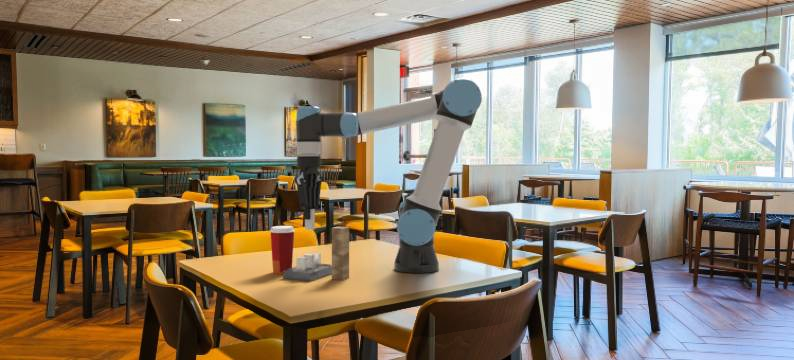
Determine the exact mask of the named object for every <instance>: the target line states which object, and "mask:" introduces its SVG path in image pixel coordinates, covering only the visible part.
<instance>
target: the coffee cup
mask: <svg viewBox="0 0 794 360" xmlns="http://www.w3.org/2000/svg"><path fill="white" fill-rule="evenodd" d="M294 228H295V227H294V226H292V225H276V226H271V228H270V230H269V231H268V232H270V243H271V258H272V259H271V260H272V272H273V273H272V274H274V275H275V274H276V275H283V270H287V269H290V268H293V259H294V258H293V257H294V256H293V255H294V243H295V242H294V241H295V239H294V238H295V232H296V230H295V229H294Z"/></svg>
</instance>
